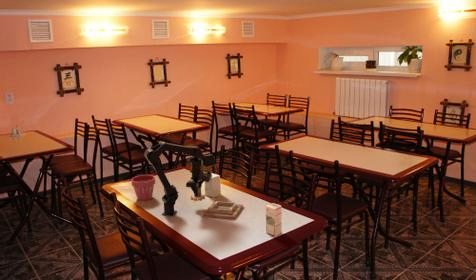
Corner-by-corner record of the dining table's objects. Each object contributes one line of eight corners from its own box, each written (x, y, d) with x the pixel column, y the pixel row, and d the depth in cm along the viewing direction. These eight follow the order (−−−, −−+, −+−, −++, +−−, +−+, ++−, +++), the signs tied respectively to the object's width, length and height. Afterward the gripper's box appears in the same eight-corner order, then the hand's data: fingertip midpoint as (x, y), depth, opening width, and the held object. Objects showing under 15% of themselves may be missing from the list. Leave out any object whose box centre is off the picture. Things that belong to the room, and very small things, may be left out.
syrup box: (282, 232, 213) (282, 205, 210) (274, 236, 209) (274, 208, 205) (272, 229, 217) (272, 202, 213) (265, 233, 212) (265, 205, 209)
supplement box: (221, 194, 269) (220, 175, 266) (212, 197, 264) (211, 178, 261) (213, 191, 274) (212, 173, 271) (204, 195, 269) (203, 175, 266)
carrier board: (234, 219, 230) (234, 213, 230) (202, 216, 235) (202, 210, 234) (243, 207, 247) (243, 201, 246) (213, 204, 252) (213, 199, 251)
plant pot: (140, 203, 257) (138, 183, 254) (128, 197, 267) (127, 178, 264) (160, 197, 266) (159, 178, 263) (149, 192, 276) (147, 173, 273)
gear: (202, 201, 241) (201, 190, 240) (188, 200, 243) (187, 189, 242) (207, 196, 249) (206, 185, 248) (193, 195, 251) (193, 185, 250)
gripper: (204, 173, 231) (205, 201, 235) (215, 164, 249) (216, 190, 252) (184, 172, 234) (186, 199, 238) (197, 163, 252) (198, 188, 255)
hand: (197, 194), depth 246 cm, fingers closed on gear, 4 cm apart
